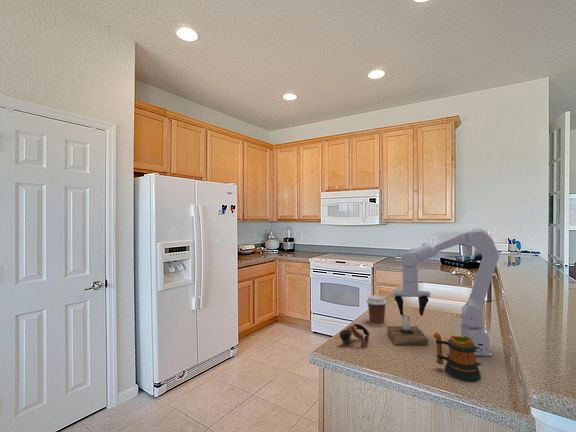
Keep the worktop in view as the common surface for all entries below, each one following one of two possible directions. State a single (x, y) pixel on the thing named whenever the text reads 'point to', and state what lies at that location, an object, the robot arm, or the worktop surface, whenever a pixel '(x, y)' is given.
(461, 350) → the mug
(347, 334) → the brown curled shape
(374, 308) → the coffee cup
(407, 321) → the peg
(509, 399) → the worktop surface
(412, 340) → the hole block
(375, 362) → the worktop surface
